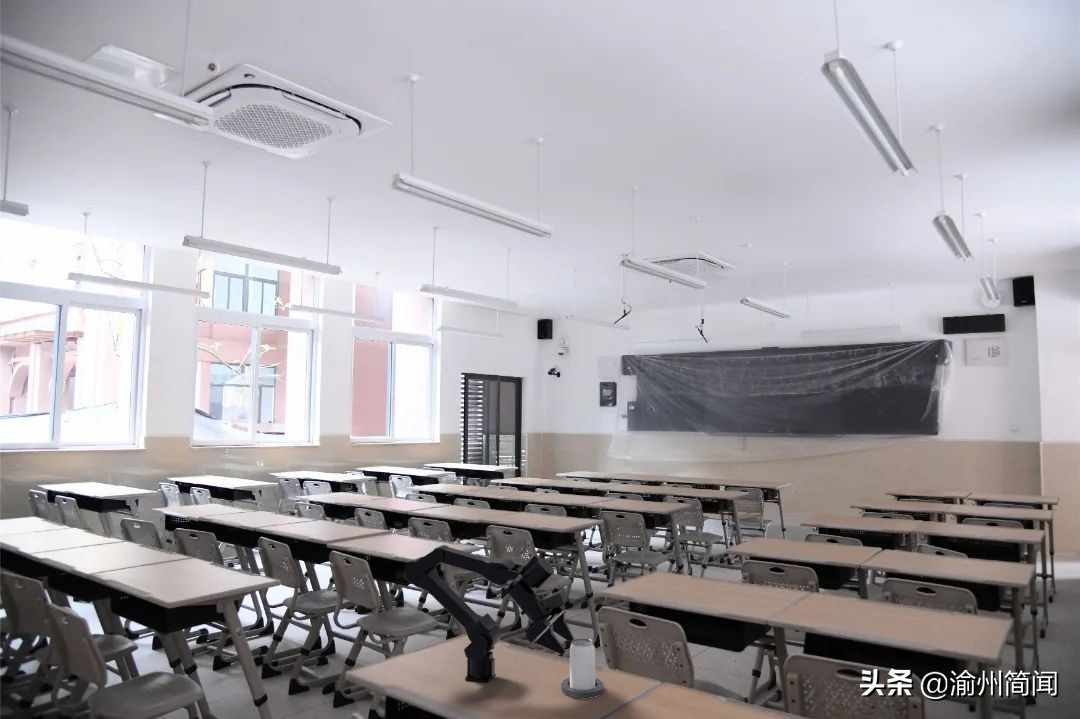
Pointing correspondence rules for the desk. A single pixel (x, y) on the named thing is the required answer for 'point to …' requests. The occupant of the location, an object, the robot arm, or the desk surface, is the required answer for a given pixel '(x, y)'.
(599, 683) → the collar
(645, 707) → the desk surface
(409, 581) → the robot arm
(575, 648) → the can
